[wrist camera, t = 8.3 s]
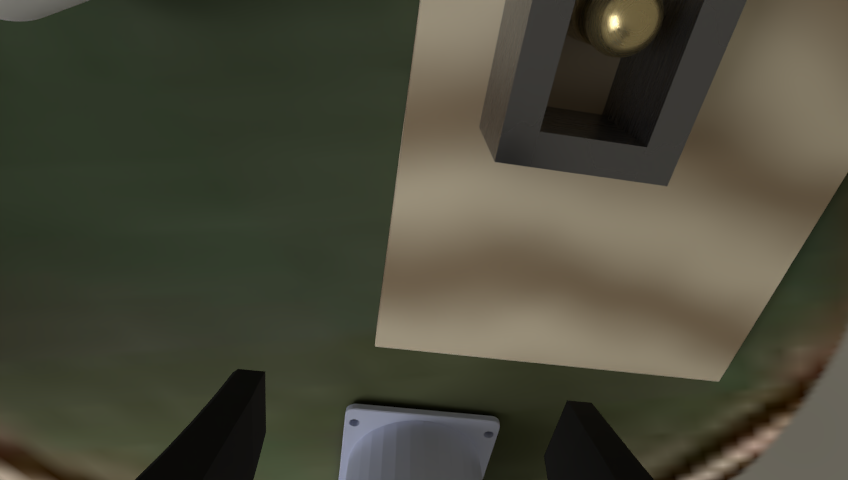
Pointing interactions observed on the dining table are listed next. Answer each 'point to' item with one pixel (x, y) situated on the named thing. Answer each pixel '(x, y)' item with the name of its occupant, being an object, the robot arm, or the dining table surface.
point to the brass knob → (616, 25)
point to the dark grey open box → (627, 101)
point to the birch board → (611, 203)
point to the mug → (33, 8)
